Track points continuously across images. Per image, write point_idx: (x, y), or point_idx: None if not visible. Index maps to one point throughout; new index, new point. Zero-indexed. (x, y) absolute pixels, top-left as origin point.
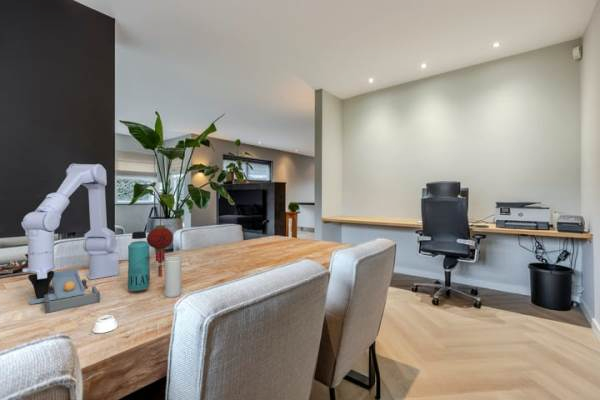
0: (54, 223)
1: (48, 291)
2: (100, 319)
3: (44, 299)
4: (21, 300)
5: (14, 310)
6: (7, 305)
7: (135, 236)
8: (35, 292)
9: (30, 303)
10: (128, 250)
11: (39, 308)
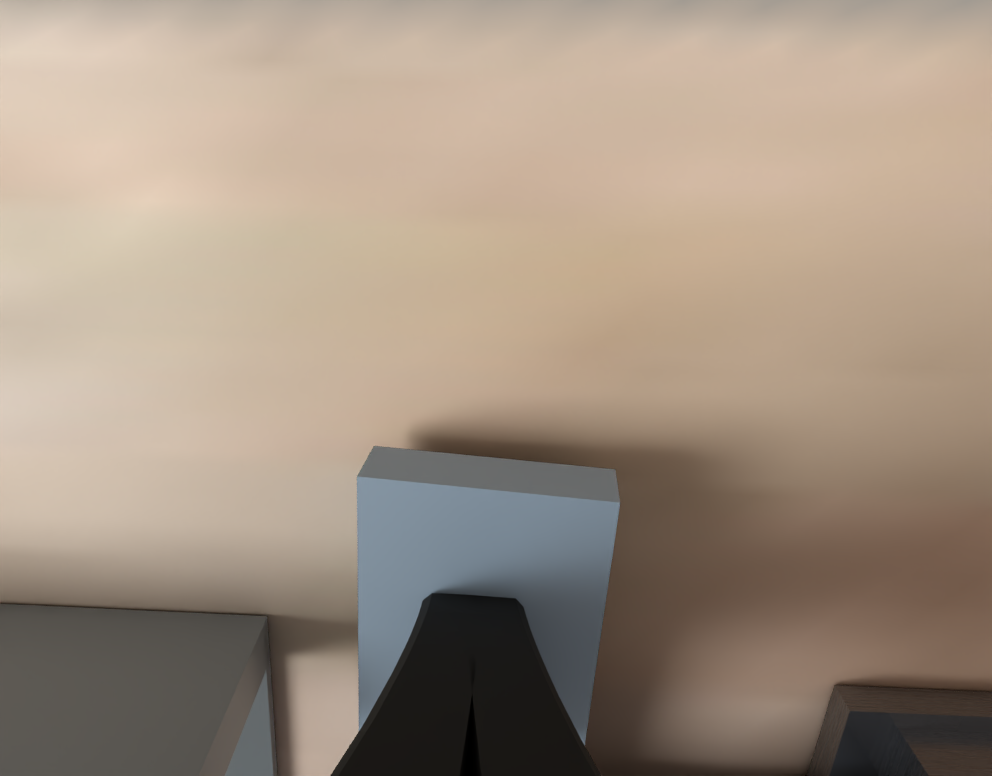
0: None
1: (918, 770)
2: None
3: (89, 713)
4: (951, 328)
5: (228, 178)
6: (792, 65)
7: None
8: (376, 708)
9: (374, 460)
10: None
11: (55, 540)
